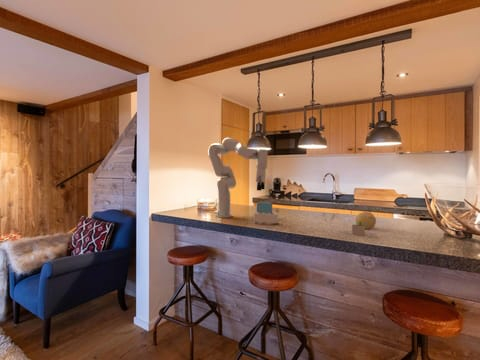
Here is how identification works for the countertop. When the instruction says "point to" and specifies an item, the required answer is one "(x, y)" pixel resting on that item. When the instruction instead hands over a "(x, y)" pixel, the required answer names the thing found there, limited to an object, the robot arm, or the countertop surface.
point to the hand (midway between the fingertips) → (260, 189)
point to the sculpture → (366, 220)
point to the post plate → (265, 222)
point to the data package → (264, 207)
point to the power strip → (266, 217)
